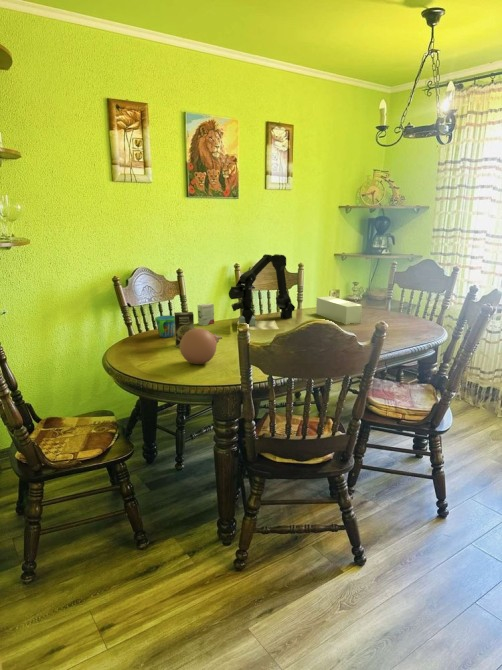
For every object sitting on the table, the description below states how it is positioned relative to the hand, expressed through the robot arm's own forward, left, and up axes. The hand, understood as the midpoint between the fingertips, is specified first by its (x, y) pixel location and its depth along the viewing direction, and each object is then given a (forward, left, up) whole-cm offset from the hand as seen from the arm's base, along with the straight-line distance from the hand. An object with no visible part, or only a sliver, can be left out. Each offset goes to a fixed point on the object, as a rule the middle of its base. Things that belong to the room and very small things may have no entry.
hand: (246, 324), depth 251 cm
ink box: (+23, -11, -2) cm, 26 cm away
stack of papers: (-57, -20, -2) cm, 60 cm away
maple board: (-6, 0, -2) cm, 6 cm away
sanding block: (0, 0, 0) cm, 0 cm away
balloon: (+22, +59, -2) cm, 63 cm away
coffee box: (+32, +32, -2) cm, 45 cm away
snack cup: (+43, +14, -2) cm, 45 cm away
